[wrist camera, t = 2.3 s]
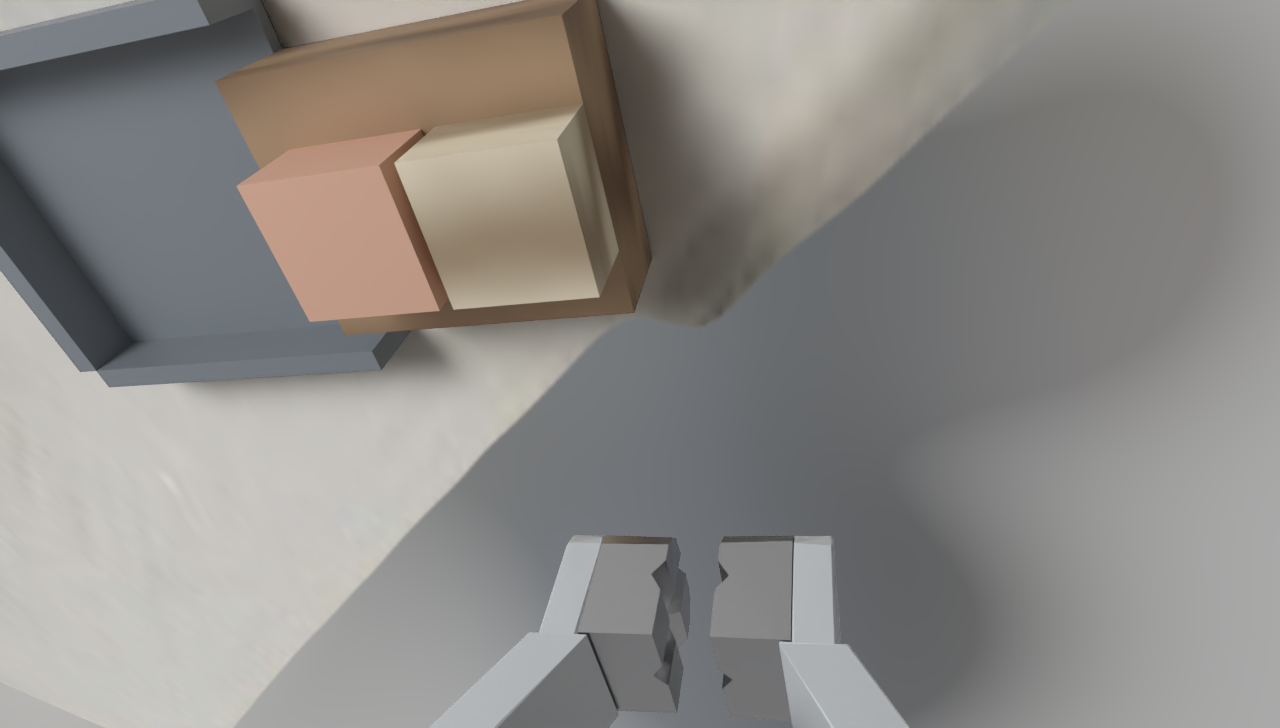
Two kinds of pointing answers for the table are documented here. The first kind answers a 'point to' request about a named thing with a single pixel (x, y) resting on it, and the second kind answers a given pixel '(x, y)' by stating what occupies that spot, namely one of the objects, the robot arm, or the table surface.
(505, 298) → the cream wooden block
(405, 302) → the salmon pink square block
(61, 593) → the table surface
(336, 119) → the brown wooden slab
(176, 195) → the tray
